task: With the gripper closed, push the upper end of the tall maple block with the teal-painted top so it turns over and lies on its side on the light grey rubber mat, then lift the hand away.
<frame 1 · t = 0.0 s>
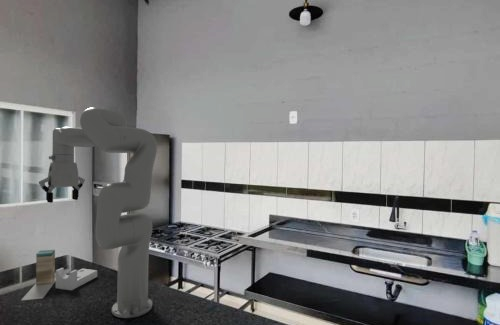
hand: (62, 200, 124), 31 cm above the counter, tool pointing down, fingers open, 9 cm apart
bracket: (77, 285, 118), on the counter
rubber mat: (41, 289, 113), on the counter
maple block: (45, 282, 117), point 1 cm above the counter, touching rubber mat
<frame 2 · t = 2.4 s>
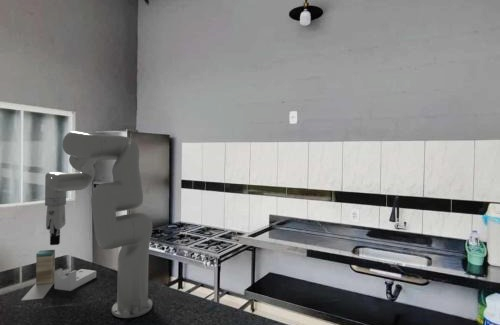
hand: (54, 244, 128), 12 cm above the counter, tool pointing down, fingers closed
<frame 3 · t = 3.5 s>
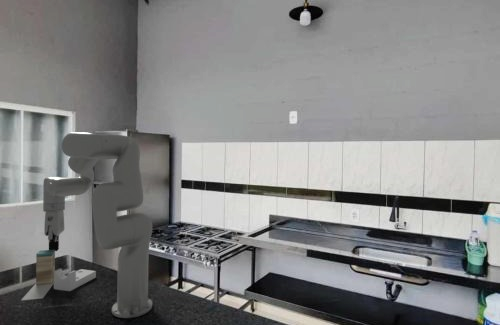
hand: (53, 250, 126), 10 cm above the counter, tool pointing down, fingers closed
nothing on the counter moved.
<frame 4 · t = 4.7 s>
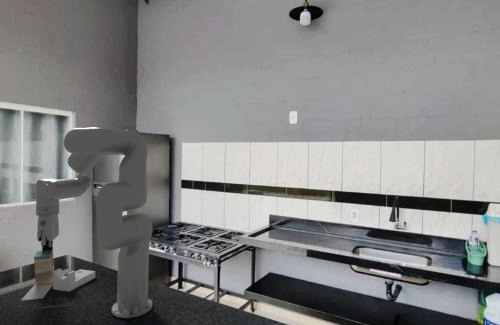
hand: (47, 257, 119), 10 cm above the counter, tool pointing down, fingers closed
maple block: (45, 281, 117), point 1 cm above the counter, tilted 12°, touching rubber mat
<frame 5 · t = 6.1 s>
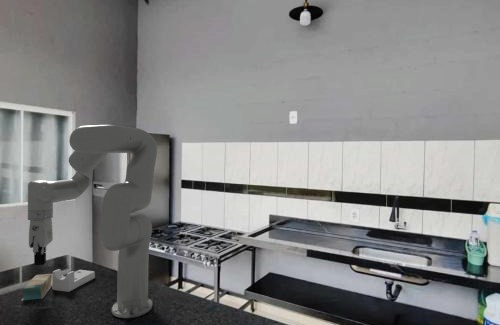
hand: (40, 264, 111), 10 cm above the counter, tool pointing down, fingers closed
maple block: (43, 279, 115), point 3 cm above the counter, tilted 90°, touching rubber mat
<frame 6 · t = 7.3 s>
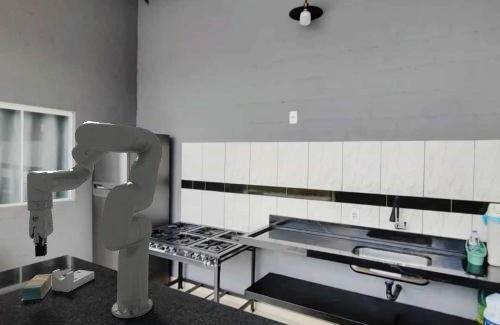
hand: (41, 255, 110), 13 cm above the counter, tool pointing down, fingers closed
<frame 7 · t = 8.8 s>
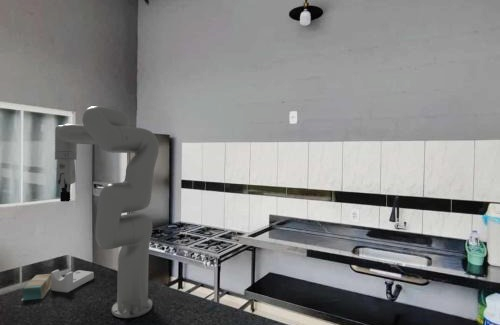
hand: (65, 201, 124), 31 cm above the counter, tool pointing down, fingers closed
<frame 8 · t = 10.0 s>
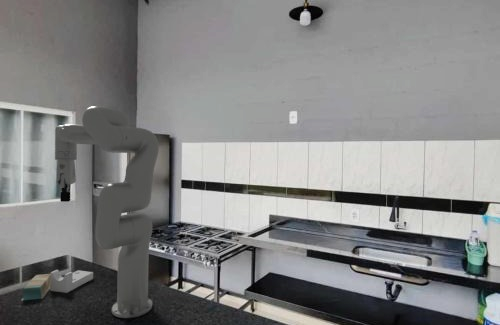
hand: (65, 201, 124), 31 cm above the counter, tool pointing down, fingers closed
at the end: maple block tilted 90°; maple block inside the target area (0.1 cm from its centre), point 2.6 cm above the counter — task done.
